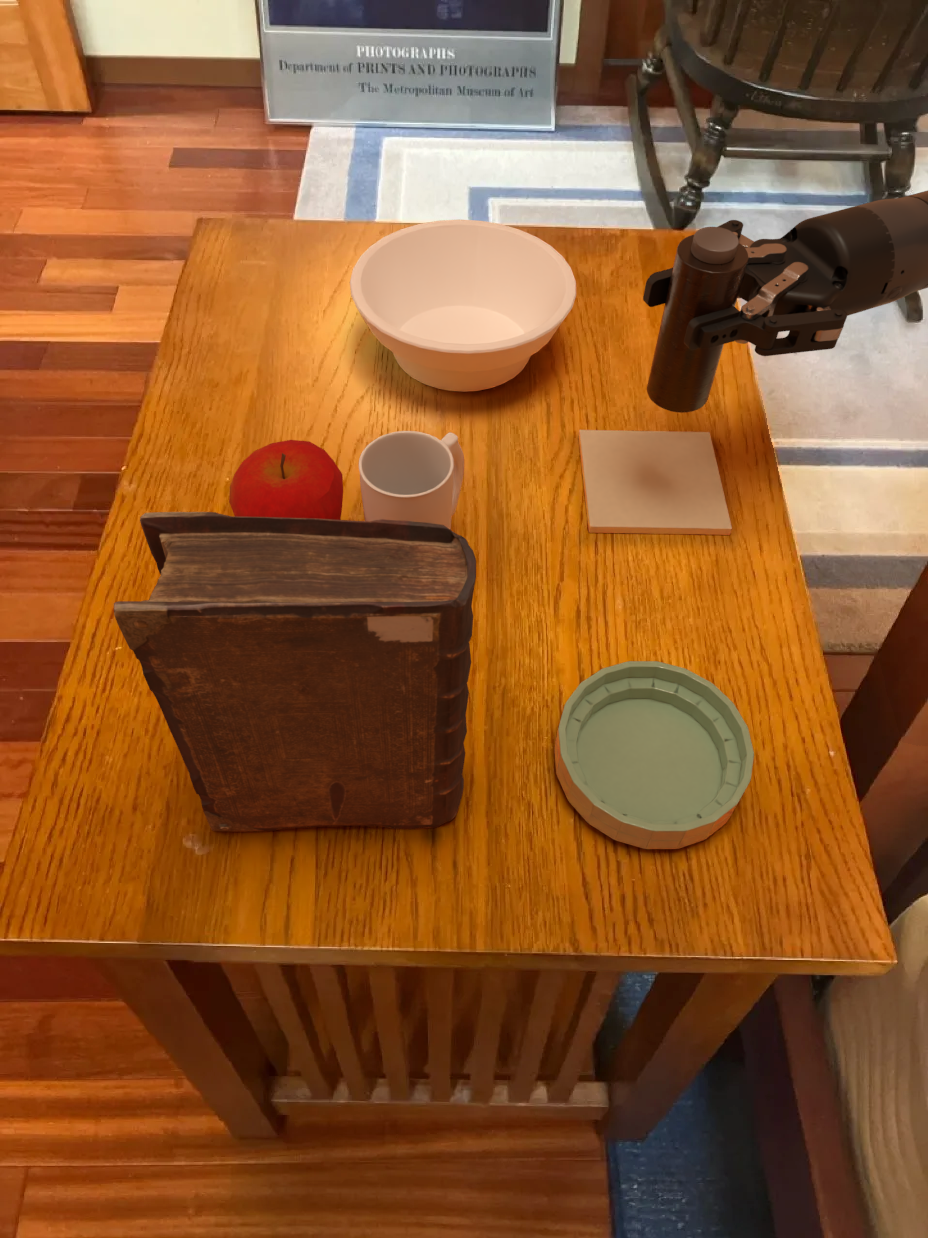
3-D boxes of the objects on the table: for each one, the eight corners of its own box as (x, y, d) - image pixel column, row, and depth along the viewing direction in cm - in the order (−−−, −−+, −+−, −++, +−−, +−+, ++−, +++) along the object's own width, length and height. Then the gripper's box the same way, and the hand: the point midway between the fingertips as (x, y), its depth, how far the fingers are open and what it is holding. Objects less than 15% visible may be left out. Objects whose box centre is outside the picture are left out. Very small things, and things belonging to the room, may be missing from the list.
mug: (415, 618, 73) (411, 511, 63) (351, 576, 75) (338, 467, 65) (492, 543, 78) (500, 433, 68) (430, 506, 80) (429, 395, 70)
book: (467, 765, 65) (481, 521, 45) (458, 862, 61) (468, 639, 41) (232, 743, 66) (142, 492, 46) (206, 837, 61) (95, 606, 41)
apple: (297, 507, 79) (277, 398, 70) (373, 552, 77) (364, 444, 67) (225, 569, 75) (195, 462, 66) (304, 618, 72) (283, 514, 63)
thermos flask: (718, 388, 73) (764, 234, 62) (691, 421, 71) (733, 267, 60) (664, 364, 75) (700, 211, 64) (635, 396, 72) (667, 242, 62)
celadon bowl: (769, 746, 66) (784, 721, 64) (687, 891, 60) (699, 870, 57) (611, 658, 71) (618, 631, 68) (518, 784, 64) (522, 760, 61)
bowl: (333, 408, 87) (324, 334, 81) (380, 280, 100) (376, 207, 93) (556, 436, 86) (566, 363, 79) (575, 303, 98) (585, 230, 92)
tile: (707, 438, 86) (709, 431, 85) (730, 535, 79) (732, 528, 78) (578, 435, 86) (579, 429, 85) (588, 532, 78) (589, 526, 78)
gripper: (816, 164, 71) (623, 212, 66) (947, 264, 63) (739, 325, 59) (787, 254, 77) (608, 304, 72) (903, 355, 69) (712, 417, 65)
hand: (668, 313), depth 65 cm, fingers closed on thermos flask, 5 cm apart
